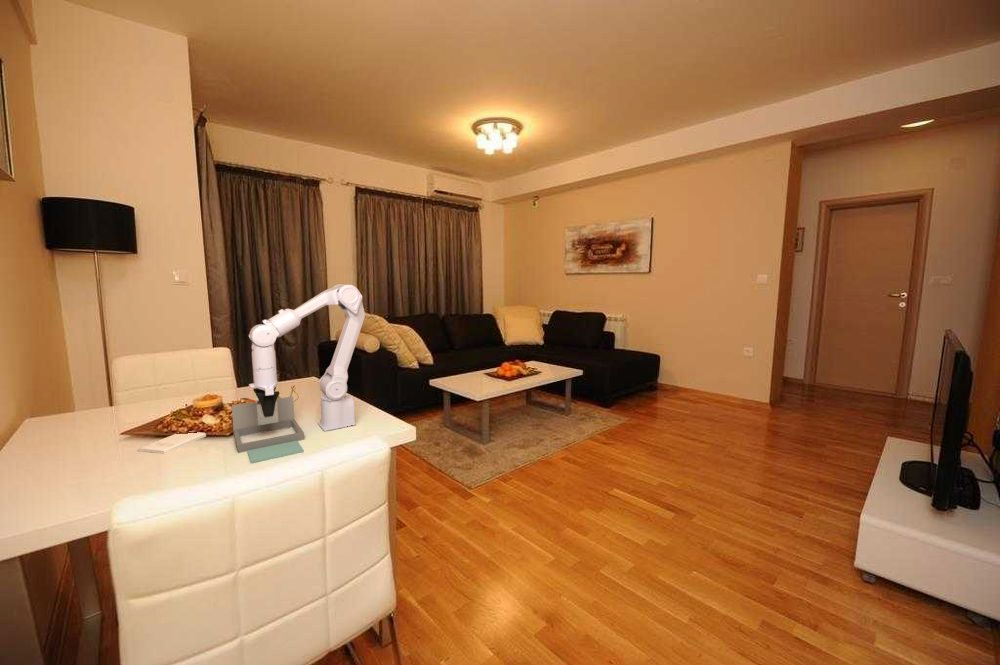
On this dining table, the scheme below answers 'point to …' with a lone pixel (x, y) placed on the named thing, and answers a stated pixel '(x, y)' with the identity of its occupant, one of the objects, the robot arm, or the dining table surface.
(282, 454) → the module mat
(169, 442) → the external hard drive
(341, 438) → the dining table surface
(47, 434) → the dining table surface
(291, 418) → the equipment case
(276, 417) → the block
